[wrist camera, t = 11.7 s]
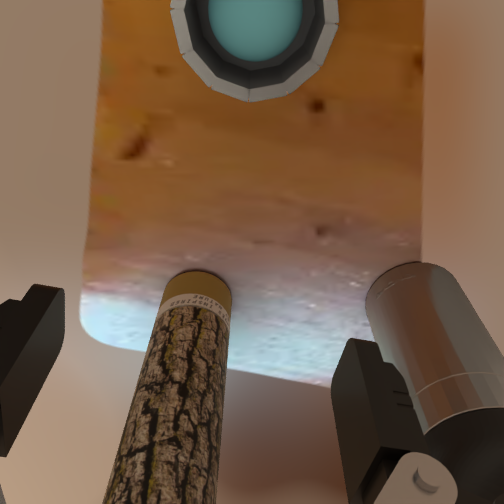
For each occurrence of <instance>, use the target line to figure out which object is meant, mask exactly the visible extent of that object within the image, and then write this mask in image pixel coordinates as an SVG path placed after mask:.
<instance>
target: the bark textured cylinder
mask: <svg viewBox="0 0 504 504" xmlns="http://www.w3.org/2000/svg"><path fill="white" fill-rule="evenodd" d="M231 305H232V299H231V294H230V291H229V289H228V288H227V286H226V285H225V284H224V283H223V282H222V281H221V280H220V279H218V278H217V277H215V276H213V275H211V274H209V273H205V272H199V271H193V272H186V273H183V274H180V275H178V276H176V277H175V278H173V279H172V280H171V281H170V282H169V283H168V285H167V286H166V288H165V290H164V293H163V297H162V300H161V304H160V307H159V311H158V313H157V317H156V320H155V324H154V327H153V330H152V334H151V337H150V341H149V344H148V348H147V351H146V355H145V358H144V362H143V365H142V368H141V372H140V375H139V379H138V382H137V386H136V389H135V393H134V396H133V400H132V403H131V406H130V410H129V413H128V417H127V420H126V424H125V427H124V431H123V434H122V437H121V441H120V444H119V448H118V451H117V455H116V458H115V462H114V465H113V469H112V472H111V475H110V479H109V483H108V486H107V489H106V493H105V496H104V500H103V503H102V504H216V493H217V482H218V481H217V480H218V468H219V456H220V445H221V432H222V419H223V407H224V395H225V383H226V370H227V358H228V345H229V333H230V317H231Z"/></svg>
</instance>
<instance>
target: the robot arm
mask: <svg viewBox="0 0 504 504" xmlns="http://www.w3.org/2000/svg"><path fill="white" fill-rule="evenodd" d="M365 308H366V313H367V317H368V320H369V323H370V326H371V330H372V333H373V336H374V340H375V342H372V341H367V340H361V339H355V338H350V339H349V340H348V341H347V343H346V346H345V348H344V351H343V353H342V356H341V358H340V360H339V363H338V365H337V368H336V370H335V373H334V375H333V379H332V384H331V399H332V405H333V411H334V417H335V423H336V429H337V435H338V441H339V447H340V454H341V460H342V466H343V472H344V478H345V484H346V490H347V496H348V502H349V504H504V357H503V355H502V354H501V352H500V350H499V349H498V347H497V346H496V344H495V342H494V341H493V339H492V337H491V336H490V334H489V333H488V331H487V329H486V328H485V326H484V324H483V323H482V321H481V320H480V318H479V316H478V315H477V313H476V311H475V310H474V308H473V307H472V305H471V303H470V301H469V300H468V298H467V296H466V295H465V293H464V292H463V290H462V289H461V287H460V285H459V284H458V282H457V280H456V279H455V278H454V276H453V275H452V274H451V273H450V272H448V271H447V270H446V269H444V268H442V267H440V266H438V265H435V264H430V263H418V262H417V263H410V264H405V265H402V266H399V267H396V268H394V269H392V270H390V271H388V272H386V273H385V274H384V275H382V276H381V277H380V278H379V279H378V280H377V281H376V282H375V283H374V284H373V285H372V287H371V289H370V290H369V292H368V295H367V298H366V307H365ZM64 333H65V293H64V289H63V288H57V287H51V286H45V285H40V284H33V285H32V286H31V288H30V289H29V290H28V292H27V293H26V295H25V296H24V297H23V299H22V300H21V301H19V300H12V299H8V300H7V301H5V302H4V303H2V304H0V457H7V454H8V453H9V451H10V448H11V447H12V445H13V443H14V441H15V439H16V437H17V435H18V433H19V431H20V429H21V427H22V425H23V423H24V421H25V419H26V417H27V415H28V413H29V411H30V409H31V408H32V406H33V403H34V402H35V400H36V398H37V396H38V394H39V392H40V390H41V388H42V386H43V384H44V382H45V380H46V378H47V376H48V374H49V372H50V370H51V368H52V367H53V365H54V363H55V361H56V359H57V357H58V355H59V353H60V350H61V347H62V344H63V339H64ZM0 504H6V502H5V499H4V495H3V492H2V489H1V485H0Z"/></svg>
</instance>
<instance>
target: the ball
mask: <svg viewBox="0 0 504 504" xmlns="http://www.w3.org/2000/svg"><path fill="white" fill-rule="evenodd" d="M302 14H303V3H302V0H209V4H208V15H209V21H210V25H211V28H212V31H213V33H214V35H215V37H216V39H217V40H218V42H219V43H220V44H221V46H222V47H223V48H224V49H225V50H227V51H228V52H229V53H230V54H232V55H233V56H235V57H237V58H239V59H242V60H246V61H252V62H258V61H265V60H269V59H271V58H274V57H276V56H277V55H279V54H281V53H282V52H283V51H284V50H286V49H287V48H288V46H289V45H290V44H291V43H292V42H293V40H294V38H295V37H296V35H297V33H298V31H299V28H300V25H301V21H302Z"/></svg>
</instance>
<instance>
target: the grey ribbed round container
mask: <svg viewBox="0 0 504 504" xmlns="http://www.w3.org/2000/svg"><path fill="white" fill-rule="evenodd" d="M302 3H303V14H302V21H301V25H300V28H299V31H298V33H297V35H296V37H295V38H294V40H293V42H292V43H291V44H290V45H289V46H288V48H287V49H286V50H284V51H283V52H282V53H281V54H279V55H277V56H276V57H274V58H271V59H269V60H265V61H258V62H252V61H246V60H242V59H239V58H237V57H235V56H233V55H232V54H230V53H229V52H228V51H227V50H225V49H224V48H223V47H222V46H221V44H220V43H219V42H218V40H217V39H216V37H215V35H214V33H213V31H212V28H211V25H210V21H209V15H208V4H209V0H171V5H170V7H171V8H173V9H171V10H170V13H171V17H172V21H173V25H174V29H175V33H176V37H177V41H178V45H179V50H180V54H182V53H184V54H183V56H182V57H183V58H184V59H185V61H186V62H187V63H188V64H189V65H190V66H191V68H192V69H193V70H194V71H195V72H196V73H197V74H198V76H199V77H200V78H201V79H202V80H203V81H204V83H205V84H206V85H207V86H208V87H210V86H211V85H212V88H211V89H212V90H215V91H218V92H220V93H223V94H226V95H229V96H231V97H234V98H237V99H239V100H242V101H245V102H247V101H248V98H249V101H250V102H255V101H261V100H266V99H272V98H277V97H282V96H287V92H288V93H289V94H291V93H292V92H293V91H294V90H295V89H297V88H298V87H299V86H300V85H301V84H303V83H304V82H305V81H306V80H307V79H309V78H310V77H311V76H312V75H313V74H315V73H316V72H317V71H318V70H319V69H320V67H319V65H320V66H322V65H323V63H324V60H325V58H326V55H327V53H328V51H329V48H330V46H331V43H332V41H333V38H334V36H335V33H336V31H337V29H338V26H339V25H337V24H336V23H339V14H338V1H337V0H302ZM286 91H287V92H286Z"/></svg>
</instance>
